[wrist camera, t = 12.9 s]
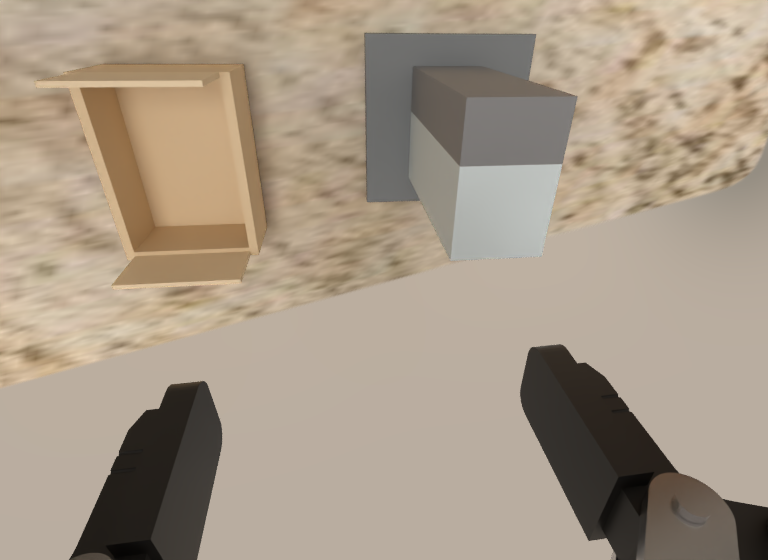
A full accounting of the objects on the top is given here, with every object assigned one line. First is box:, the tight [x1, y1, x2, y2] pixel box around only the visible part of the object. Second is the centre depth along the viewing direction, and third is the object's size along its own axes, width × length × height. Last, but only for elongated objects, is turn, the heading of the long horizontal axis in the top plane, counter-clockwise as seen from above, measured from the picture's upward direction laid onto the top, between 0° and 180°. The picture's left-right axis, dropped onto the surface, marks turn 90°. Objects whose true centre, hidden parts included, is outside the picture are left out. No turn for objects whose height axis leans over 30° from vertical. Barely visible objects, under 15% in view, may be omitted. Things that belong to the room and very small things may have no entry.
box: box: [409, 66, 577, 261], centre depth 27 cm, size 8×5×14 cm, turn 0°
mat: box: [365, 33, 536, 202], centre depth 33 cm, size 12×12×1 cm
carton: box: [34, 64, 267, 290], centre depth 29 cm, size 12×9×9 cm
